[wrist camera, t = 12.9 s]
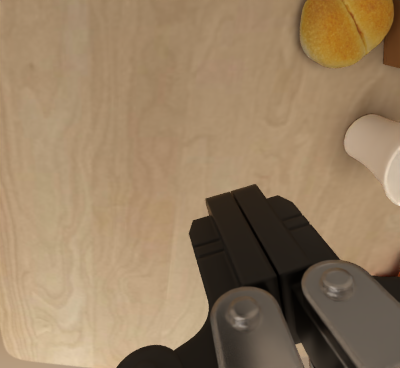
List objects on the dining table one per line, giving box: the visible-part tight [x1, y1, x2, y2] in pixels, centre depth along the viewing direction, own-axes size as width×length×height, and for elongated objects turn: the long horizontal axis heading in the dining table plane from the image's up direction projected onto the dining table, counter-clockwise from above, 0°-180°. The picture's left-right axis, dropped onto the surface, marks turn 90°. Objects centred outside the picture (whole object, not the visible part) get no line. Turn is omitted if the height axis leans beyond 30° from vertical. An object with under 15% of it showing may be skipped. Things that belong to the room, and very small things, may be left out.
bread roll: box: [300, 0, 394, 68], centre depth 34 cm, size 8×9×4 cm
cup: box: [344, 114, 400, 206], centre depth 38 cm, size 9×9×10 cm
